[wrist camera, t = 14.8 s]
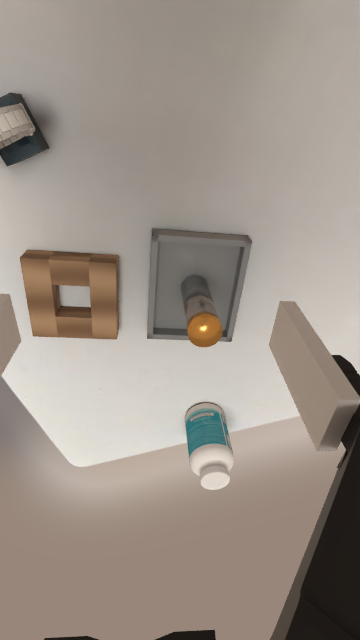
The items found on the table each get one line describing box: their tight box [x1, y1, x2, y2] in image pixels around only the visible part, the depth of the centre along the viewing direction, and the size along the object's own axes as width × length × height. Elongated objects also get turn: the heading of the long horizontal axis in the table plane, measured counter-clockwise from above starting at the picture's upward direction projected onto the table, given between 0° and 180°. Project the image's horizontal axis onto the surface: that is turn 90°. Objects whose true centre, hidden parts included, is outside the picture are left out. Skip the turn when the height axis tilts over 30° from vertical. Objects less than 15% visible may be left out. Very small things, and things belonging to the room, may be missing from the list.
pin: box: [181, 275, 223, 347], centre depth 43 cm, size 4×4×12 cm
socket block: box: [20, 250, 119, 339], centre depth 47 cm, size 12×12×3 cm
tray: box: [147, 229, 252, 342], centre depth 48 cm, size 16×13×2 cm
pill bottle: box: [185, 403, 234, 490], centre depth 58 cm, size 8×7×14 cm
